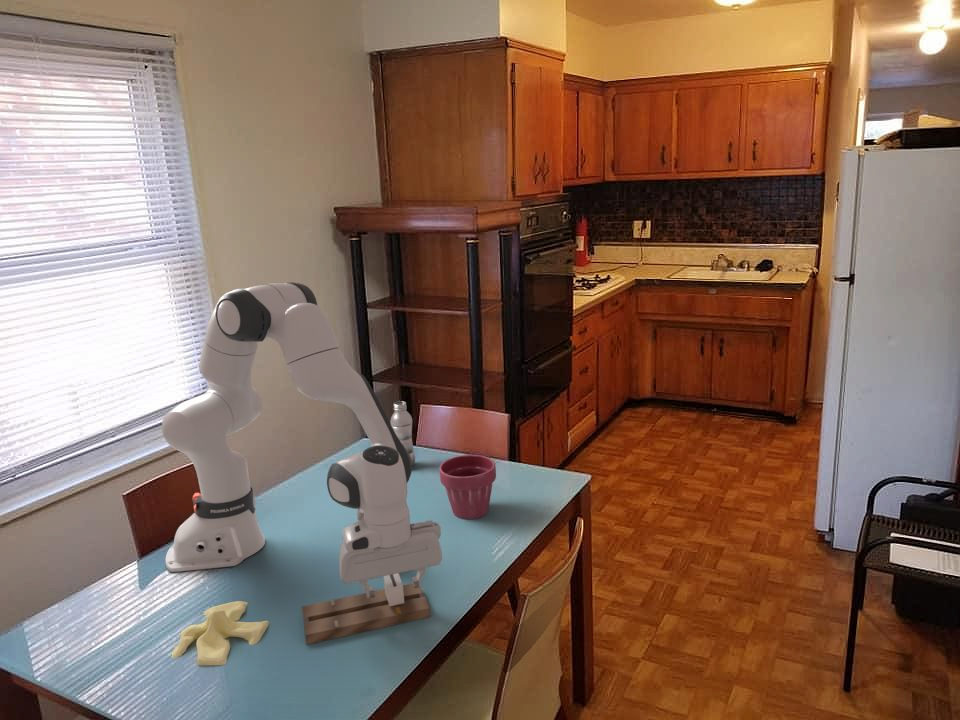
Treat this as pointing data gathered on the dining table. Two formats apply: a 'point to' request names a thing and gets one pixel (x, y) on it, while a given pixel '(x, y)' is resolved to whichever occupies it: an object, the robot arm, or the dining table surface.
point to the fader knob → (394, 589)
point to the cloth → (219, 633)
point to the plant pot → (468, 484)
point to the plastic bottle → (403, 427)
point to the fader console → (361, 614)
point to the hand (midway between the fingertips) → (394, 591)
